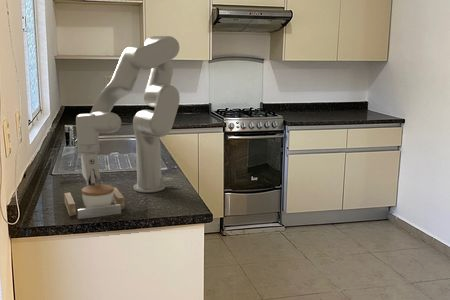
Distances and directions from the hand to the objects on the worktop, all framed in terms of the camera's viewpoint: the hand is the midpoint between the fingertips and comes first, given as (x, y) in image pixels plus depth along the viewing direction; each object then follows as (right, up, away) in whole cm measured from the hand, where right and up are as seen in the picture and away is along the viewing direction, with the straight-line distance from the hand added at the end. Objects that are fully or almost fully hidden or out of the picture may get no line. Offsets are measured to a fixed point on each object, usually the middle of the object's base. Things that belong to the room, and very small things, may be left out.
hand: (91, 196), depth 179 cm
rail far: (-5, -3, -9) cm, 11 cm away
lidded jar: (+5, -4, -10) cm, 11 cm away
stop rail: (+7, -5, -16) cm, 18 cm away
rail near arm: (+10, -2, -3) cm, 11 cm away
